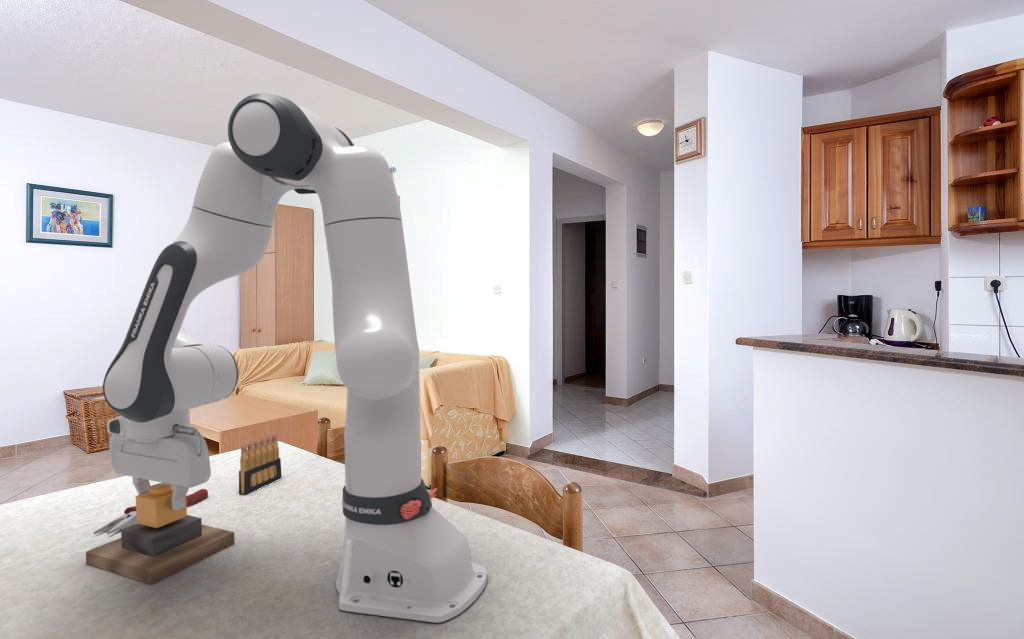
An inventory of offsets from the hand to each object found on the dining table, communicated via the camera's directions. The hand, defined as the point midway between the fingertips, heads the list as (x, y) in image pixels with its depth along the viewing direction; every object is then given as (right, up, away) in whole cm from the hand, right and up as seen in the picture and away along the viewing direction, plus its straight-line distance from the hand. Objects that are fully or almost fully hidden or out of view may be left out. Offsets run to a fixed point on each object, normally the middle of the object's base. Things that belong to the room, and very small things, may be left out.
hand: (161, 505), depth 86 cm
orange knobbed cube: (0, -2, 0) cm, 2 cm away
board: (0, -8, 0) cm, 8 cm away
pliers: (-15, -8, +18) cm, 25 cm away
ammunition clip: (+1, -7, +31) cm, 32 cm away
